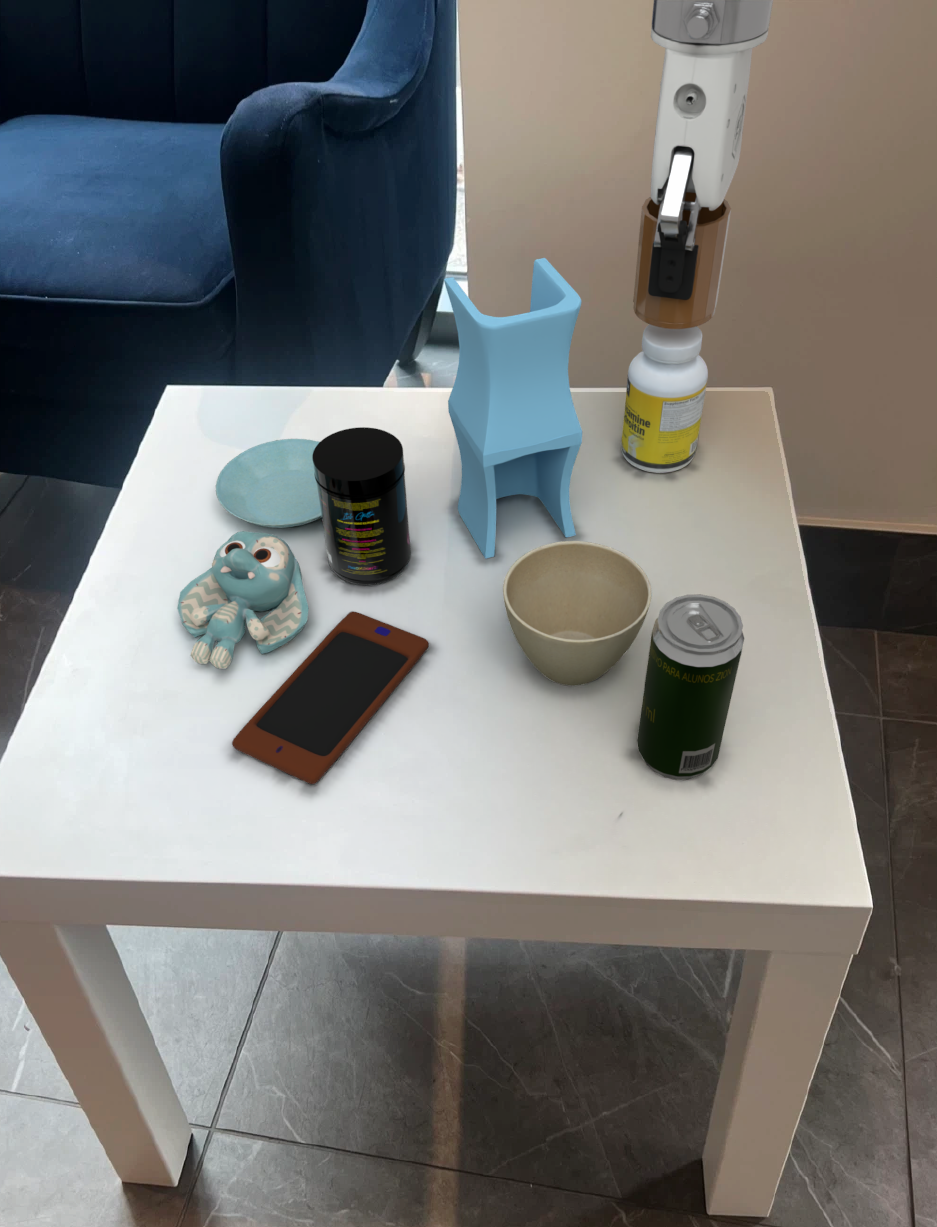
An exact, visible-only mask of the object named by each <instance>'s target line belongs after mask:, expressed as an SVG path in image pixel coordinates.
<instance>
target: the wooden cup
mask: <svg viewBox="0 0 937 1227" xmlns="http://www.w3.org/2000/svg"><path fill="white" fill-rule="evenodd" d="M695 199H696V193H691V192H687V193H686V197H685V201H691V202H695ZM659 209H660V204H659V205H657V204H656V203H655V202H654V201H653V200H652V198H651V196H649V197H648V198H646V199H645V200H644V202H643V204H642V206H641V212H640V213H641V214H640V222H639V232H638V243H637V244H638V245H637V256H636V264H635V265H636V266H635V275H634V276H635V277H634V288H633V297H632V298H633V299H632V302H633V307H632V308H633V312H634V314H635V315H636V317H637V318H638V319H639V320H641V321H642V322H644V323H646V324H647V325H649V324H650V325H653V326H656V327H660V328H666V329H687V328H693V327H696V326H697V327H699V326H702V325H704V324H706V323H707V322H709V321H711V320H712V318H713V317H714V316H715V314H716V309H717V304H718V300H719V293H720V292H719V291H720V285H721V280H722V274H723V273H722V272H723V266H724V259H725V253H726V252H725V251H726V245H727V240H728V233H729V226H730V220H731V212H732V207H731V205H730V203H729V201H728V200H727V199H725V198H724V200H723V202H722V204H721V205H720V206H719V207H718V208H717V209H715V210H713V211H711V210H709V207H702V208H701V211H700V217H699V222H698V228H697V233H696V239H695V244H694V245H699V247H698V254H697V262H696V269H695V277H694V284H693V292H692V295H691V297H690V299H688V300H680V299H672V298H664V297H657V296H651V295H650V294H649V293H648V286H649V276H650V266H651V256H652V247H653V242H654V239H655V233H656V227H657V221H658V215H659ZM682 214H683V218H682V220H683V221H686V223H687V226H689V220H690V214H691V211H686V210H683V213H682Z"/></svg>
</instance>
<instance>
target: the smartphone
mask: <svg viewBox="0 0 937 1227" xmlns="http://www.w3.org/2000/svg"><path fill="white" fill-rule="evenodd" d="M429 646H430V643H429V640H427V639H426V638H425V637H422V636H419V635H418V634H415V633H412V632H410V631H407V630H404V629H402V628H399V627H397V626H394V625H392V624H389V623H387V622H384V621H382V620H378V619H377V618H373V617H371V616H368V615H366V614H364V613H360V612H357V611H353V610H352V611H350V612H348V613H347V614H346V615H345V616H344V618H342V619H341V621H339V622H338V623H337V625H336V626H335V627H334V628H333V629H332V630H331V631H330V632H329V633H328V634H327V635H326V636H325V638H324V639H322V640H321V642H320V643H319V644H318V645H317V646H316V647H315V649H314V650H313V651H312V652H311V653H310V654H309V655H308V656H307V657H306V658H305V659H304V660H303V661H302V662H301V663H300V665H298V667H297V668H296V669H295V670H294V671H293V672H292V673H291V675H290V676H288V678H287V679H286V680H284V682H283V683H282V684H281V685H280V686H279V687H278V688H277V690H276V691H275V692H274V693H273V694H272V695H271V696H270V697H269V698H268V699H267V701H266V702H265V703H264V704H263V705H262V706H261V707H260V708H259V710H258V711H256V713H255V714H254V715H253V716H252V717H251V718H250V720H248V722H247V723H245V725H244V726H243V727H242V728H241V730H239V732H238V733H237V734H236V735H235V737H234V738H233V740H232V742H231V745H232V747H233V749H235V750H237V751H239V752H240V753H242V754H245V755H247V756H249V757H251V758H253V759H255V760H257V761H260V762H262V763H264V764H265V765H268V766H271V767H272V768H274V769H277V770H279V771H281V772H283V773H285V774H287V775H289V776H291V777H294V778H296V779H298V780H300V781H302V782H304V783H307V784H309V785H315V784H317V783H318V782H319V781H320V780H321V779H322V777H324V775H325V774H326V773H327V772H328V771H329V770H330V768H331V767H332V766H333V765H334V764H335V763H336V761H337V760H338V759H339V758H340V757H341V755H342V754H343V753H344V752H345V751H346V749H347V748H348V747H349V746H350V744H351V743H352V742H353V741H354V740H355V739H356V737H357V736H358V735H359V734H360V732H361V731H362V730H363V728H364V727H365V726H366V725H367V724H368V722H369V721H370V720H371V719H372V718H373V716H374V715H375V714H376V713H377V711H378V710H379V709H380V708H381V707H382V706H383V705H384V703H385V702H386V700H387V699H389V697H390V696H391V694H393V692H394V691H395V690H396V688H397V687H398V686H399V685H400V684H401V683H402V681H403V680H404V679H405V678H406V676H407V675H408V674H409V673H410V671H411V670H412V669H413V668H414V667H415V666H416V664H417V663H418V662H419V660H420V659H421V658H422V656H423V655H424V654H425V652H427V650H428V649H429Z"/></svg>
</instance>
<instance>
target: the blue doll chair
mask: <svg viewBox="0 0 937 1227" xmlns="http://www.w3.org/2000/svg"><path fill="white" fill-rule="evenodd" d="M443 282H444V286H445V290H446V292H447V295H448V299H449V302H450V305H451V309H452V312H453V316H454V320H455V325H456V331H457V336H458V337H457V338H458V346H459V352H458V366H457V370H456V375H455V379H454V383H453V386H452V388H451V391H450V394H449V397H448V400H447V410H448V414H449V418H450V422H451V424H452V427H453V431H454V434H455V438H456V442H457V445H458V450H459V457H460V464H461V481H460V482H461V483H460V491H459V497H458V502H457V511H458V514H459V516H460V518H461V520H462V521H463V523H464V525H465V527H466V528H467V530H468V532H469V533H470V535H471V537H472V539H473V540H474V542H475V544H476V545H477V547H478V549H479V551H480V552H481V555H482V557H483V558H484V559H485V560H486V559H489V558H493V557H495V551H496V532H497V500H498V499H502V498H506V497H510V496H516V495H525V496H531V497H536V498H538V499H539V501H541V503H542V504H543V506H544V507H545V509H546V510H547V512H548V513H549V515H550V516H551V518H552V519H553V521H554V523H556V525H557V527H558V528H559V530H560V531H561V533H562V534H563V536H564V537H565V538H571V537H574V536H577V533H576V529H575V524H574V520H573V515H572V510H571V502H570V501H571V500H570V486H571V479H572V474H573V470H574V466H575V463H576V460H577V456H578V454H579V451H580V448H581V446H582V443H583V429H582V426H581V422H580V421H579V418H578V415H577V414H578V413H577V412H576V407H575V405H574V401H573V397H572V392H571V387H570V378H569V362H570V361H569V360H570V350H571V344H572V340H573V336H574V331H575V327H576V324H577V320H578V317H579V314H580V310H581V306H582V298H581V297H580V295H579V294H578V292H577V291H576V290H575V289H574V288H573V287H572V286H571V285H570V283H568V281H567V280H566V279H565V278H564V277H563V276H562V275H561V274H560V273H559V271H558V270H557V269H556V268H555V267H554V266H553V265H552V263H551V262H549V260H548V259H547V258H546V257H543V258H536V259H535V260H534V261H533V269H532V280H531V291H530V307H529V312H525V313H524V312H523V313H519V314H514V315H508V316H491V315H487V314H485V313H484V314H483V313H482V312H481V311H480V310H479V309H478V308H477V306H476V305H475V304H474V302H472V300H471V299H470V297H469V296H468V294H466V292H465V291H464V290H463V288H462V287H461V285H460V284H459V283H458V282H457V280H456V278H455V277H453V276H451V277H446V278H443Z"/></svg>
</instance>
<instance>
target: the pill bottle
mask: <svg viewBox="0 0 937 1227" xmlns="http://www.w3.org/2000/svg"><path fill="white" fill-rule="evenodd" d="M702 344H703V332H702V330H701V328H700V327H699V326H696V327H693V328H687V329H666V328H660V327H656V326H653V325H650V324H647V325H646V327H645V328H644V329H643V333H642V339H641V350H642V351H640V352H638V353H637V354H636V355H635V356H634V357H633V359H632V360H631V362H630V364H629V366H628V369H627V370H628V371H627V378H626V389H625V390H626V391H625V392H626V393H625V402H624V411H623V422H622V431H621V440H620V442H621V443H620V448H621V454H622V456H623V458H624V459H625V460H626V461H627V462H628V463H629V464H630V465H632V466H633V467H635V468H637V469H639V470H641V471H644V472H649V473H655V474H656V473H657V474H665V473H671V472H675V471H678V470H681V469H683V468H684V467H686V466H688V465H689V464H690V463H691V462H692V461H693V459H694V457H695V455H696V452H697V447H698V440H699V434H700V428H701V422H702V415H703V410H704V404H705V397H706V392H707V386H708V377H709V370H708V366H707V363H706V362H705V360H704V359H703V357H702V356H701V355H700V354H701V350H702Z"/></svg>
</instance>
